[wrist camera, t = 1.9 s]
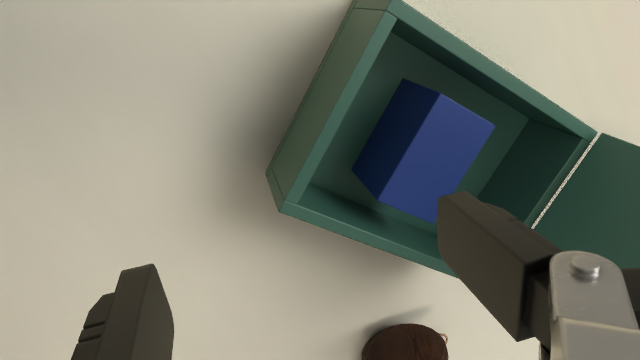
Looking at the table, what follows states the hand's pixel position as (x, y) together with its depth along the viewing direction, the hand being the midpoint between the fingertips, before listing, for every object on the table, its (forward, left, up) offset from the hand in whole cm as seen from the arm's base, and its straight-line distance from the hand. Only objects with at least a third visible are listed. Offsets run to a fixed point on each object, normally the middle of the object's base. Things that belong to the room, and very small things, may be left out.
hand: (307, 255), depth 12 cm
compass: (+21, -13, -17) cm, 30 cm away
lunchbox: (+11, +3, -17) cm, 20 cm away
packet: (+10, +3, -16) cm, 19 cm away
